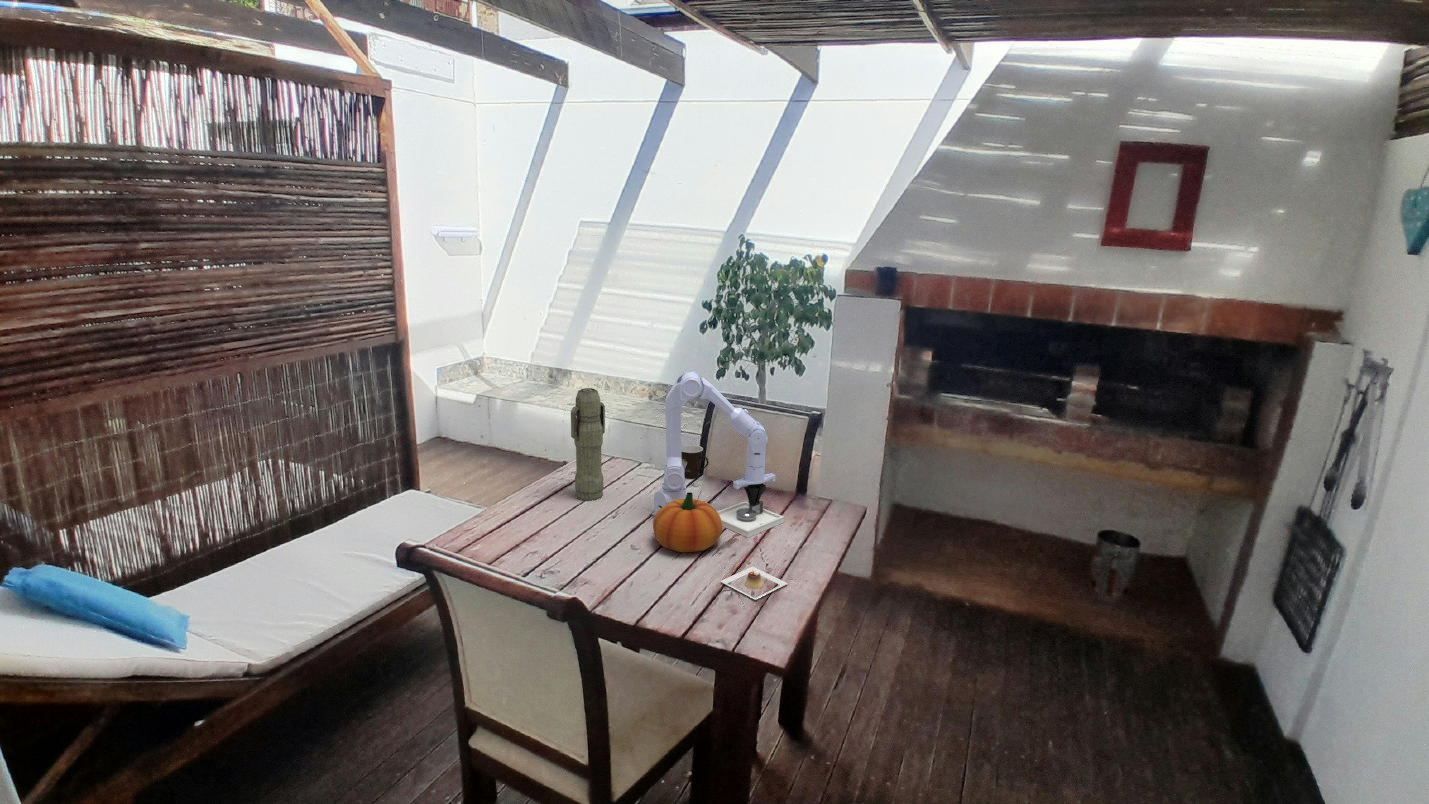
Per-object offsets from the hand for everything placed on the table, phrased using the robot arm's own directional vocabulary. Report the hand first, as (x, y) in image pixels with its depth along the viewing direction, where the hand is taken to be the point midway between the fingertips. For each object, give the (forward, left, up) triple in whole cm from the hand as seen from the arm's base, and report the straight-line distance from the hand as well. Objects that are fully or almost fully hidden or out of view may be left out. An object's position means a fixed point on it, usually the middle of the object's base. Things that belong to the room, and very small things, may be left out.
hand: (753, 506), depth 219 cm
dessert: (-32, -29, -3) cm, 44 cm away
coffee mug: (+8, +36, -3) cm, 37 cm away
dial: (-3, -2, -1) cm, 4 cm away
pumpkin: (-28, -1, -3) cm, 29 cm away
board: (-5, -2, -3) cm, 6 cm away
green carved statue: (-29, +45, -3) cm, 53 cm away
